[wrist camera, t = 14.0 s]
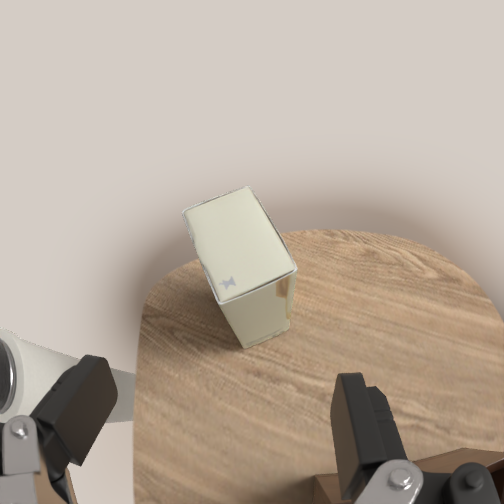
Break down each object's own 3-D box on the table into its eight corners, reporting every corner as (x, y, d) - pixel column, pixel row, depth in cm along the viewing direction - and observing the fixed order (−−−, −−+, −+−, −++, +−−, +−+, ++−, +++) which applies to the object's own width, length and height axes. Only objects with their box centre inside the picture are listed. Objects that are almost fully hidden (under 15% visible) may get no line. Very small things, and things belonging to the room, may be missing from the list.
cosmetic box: (290, 330, 25) (304, 275, 15) (243, 351, 25) (219, 312, 14) (259, 267, 28) (250, 180, 17) (215, 286, 28) (178, 208, 17)
